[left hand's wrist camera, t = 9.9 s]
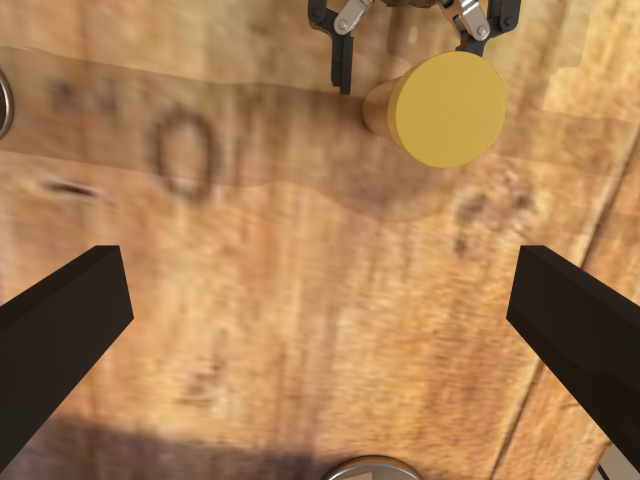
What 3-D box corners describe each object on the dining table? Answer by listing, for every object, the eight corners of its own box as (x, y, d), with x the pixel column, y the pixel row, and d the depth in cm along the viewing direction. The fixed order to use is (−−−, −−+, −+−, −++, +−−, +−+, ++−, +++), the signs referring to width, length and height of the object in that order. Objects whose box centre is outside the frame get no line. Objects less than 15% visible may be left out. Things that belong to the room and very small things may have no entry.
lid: (503, 124, 20) (525, 126, 18) (418, 180, 21) (429, 188, 19) (457, 34, 18) (475, 25, 16) (368, 99, 19) (374, 97, 17)
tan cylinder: (420, 116, 34) (511, 124, 18) (378, 145, 35) (429, 178, 19) (395, 71, 33) (468, 37, 17) (351, 103, 34) (382, 99, 18)
